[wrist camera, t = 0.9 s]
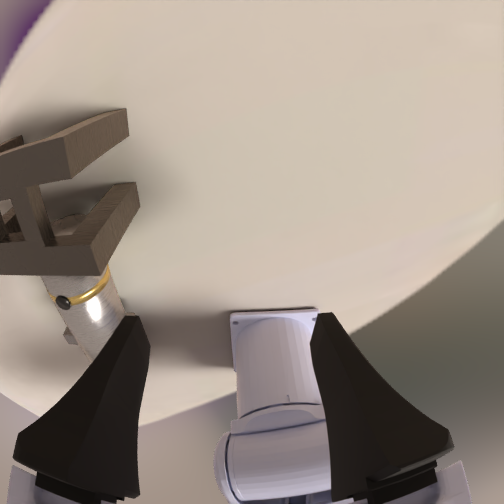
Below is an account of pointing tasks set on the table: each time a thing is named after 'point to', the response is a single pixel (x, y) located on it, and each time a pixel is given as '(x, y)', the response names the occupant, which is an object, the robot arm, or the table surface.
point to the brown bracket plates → (33, 210)
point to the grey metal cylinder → (85, 300)
